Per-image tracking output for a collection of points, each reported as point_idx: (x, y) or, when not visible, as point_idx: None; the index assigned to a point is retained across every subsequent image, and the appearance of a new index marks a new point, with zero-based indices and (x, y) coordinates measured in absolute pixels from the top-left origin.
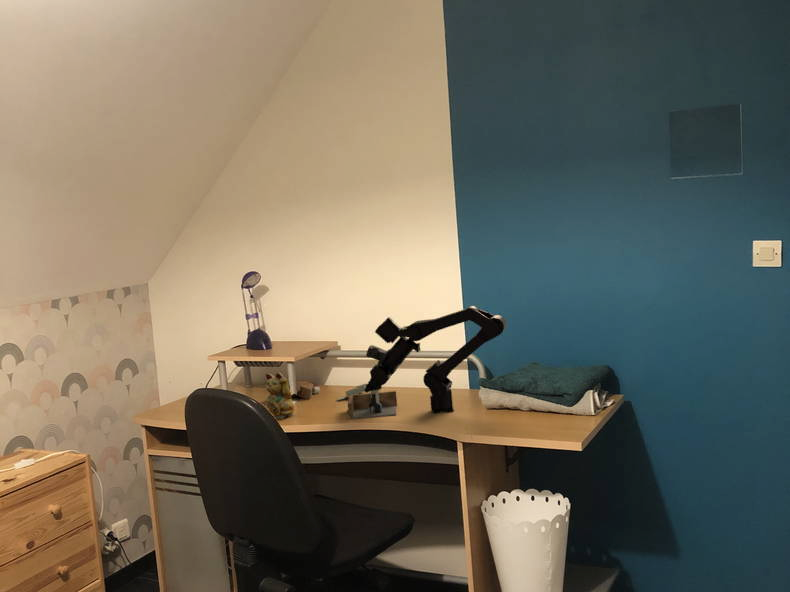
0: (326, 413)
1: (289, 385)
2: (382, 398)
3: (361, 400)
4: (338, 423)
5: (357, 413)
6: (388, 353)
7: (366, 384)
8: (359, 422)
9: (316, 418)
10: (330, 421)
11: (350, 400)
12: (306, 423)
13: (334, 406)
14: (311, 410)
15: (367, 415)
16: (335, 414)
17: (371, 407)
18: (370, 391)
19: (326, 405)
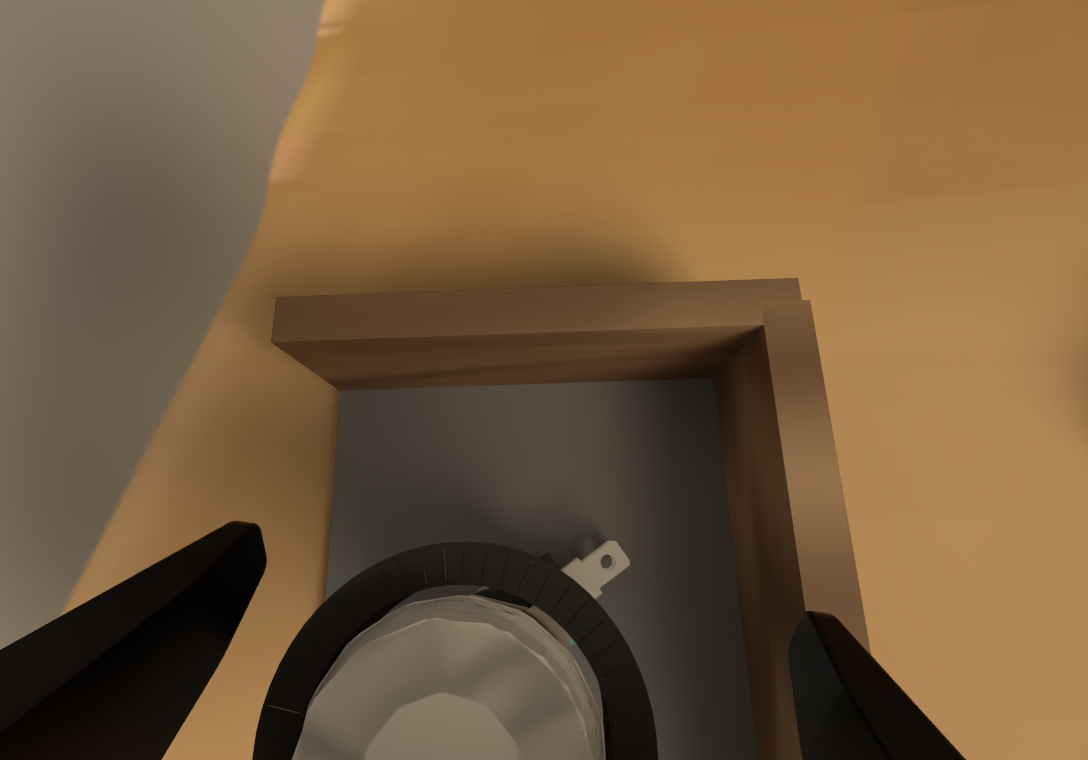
0: (658, 145)
1: None
2: (793, 757)
3: (753, 449)
4: (245, 277)
5: (503, 426)
6: None
7: (521, 557)
8: (185, 468)
9: (504, 88)
10: (349, 205)
11: (462, 317)
12: (367, 38)
13: (921, 184)
14: (806, 20)
15: (372, 540)
16: (594, 222)
17: (477, 591)
18: (545, 615)
19: (976, 113)
